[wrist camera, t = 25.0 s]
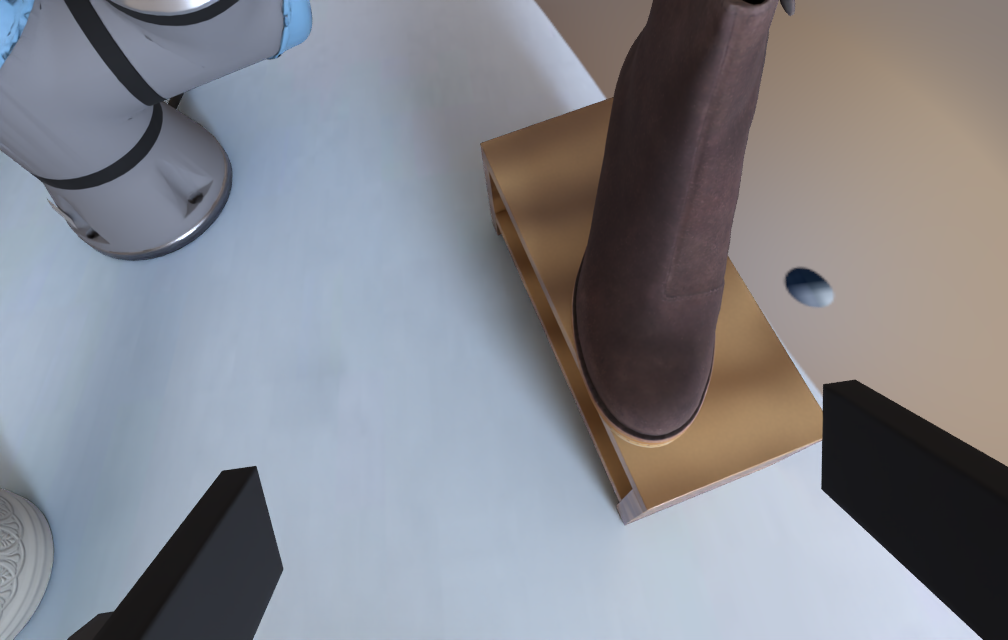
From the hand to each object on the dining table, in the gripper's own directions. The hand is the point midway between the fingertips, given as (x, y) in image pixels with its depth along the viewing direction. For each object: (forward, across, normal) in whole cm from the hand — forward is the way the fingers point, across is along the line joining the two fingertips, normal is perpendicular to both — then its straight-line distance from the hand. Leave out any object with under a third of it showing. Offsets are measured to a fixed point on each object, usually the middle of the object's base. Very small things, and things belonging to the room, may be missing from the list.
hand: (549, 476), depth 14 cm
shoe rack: (+35, +10, -8) cm, 37 cm away
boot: (+26, +10, -2) cm, 28 cm away
